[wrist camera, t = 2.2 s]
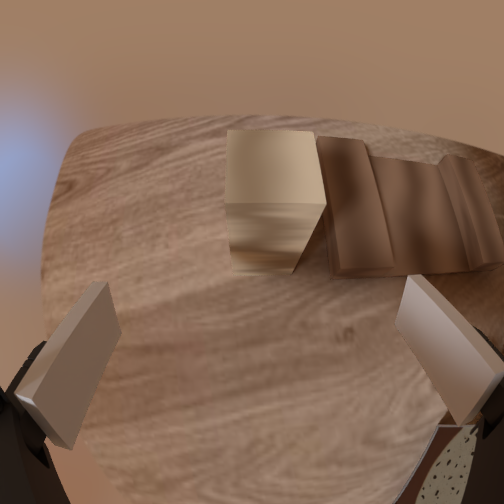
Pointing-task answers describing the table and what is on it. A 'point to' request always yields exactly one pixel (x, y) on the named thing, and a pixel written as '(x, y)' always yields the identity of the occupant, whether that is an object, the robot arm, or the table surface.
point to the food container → (441, 468)
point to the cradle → (404, 215)
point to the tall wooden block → (271, 199)
